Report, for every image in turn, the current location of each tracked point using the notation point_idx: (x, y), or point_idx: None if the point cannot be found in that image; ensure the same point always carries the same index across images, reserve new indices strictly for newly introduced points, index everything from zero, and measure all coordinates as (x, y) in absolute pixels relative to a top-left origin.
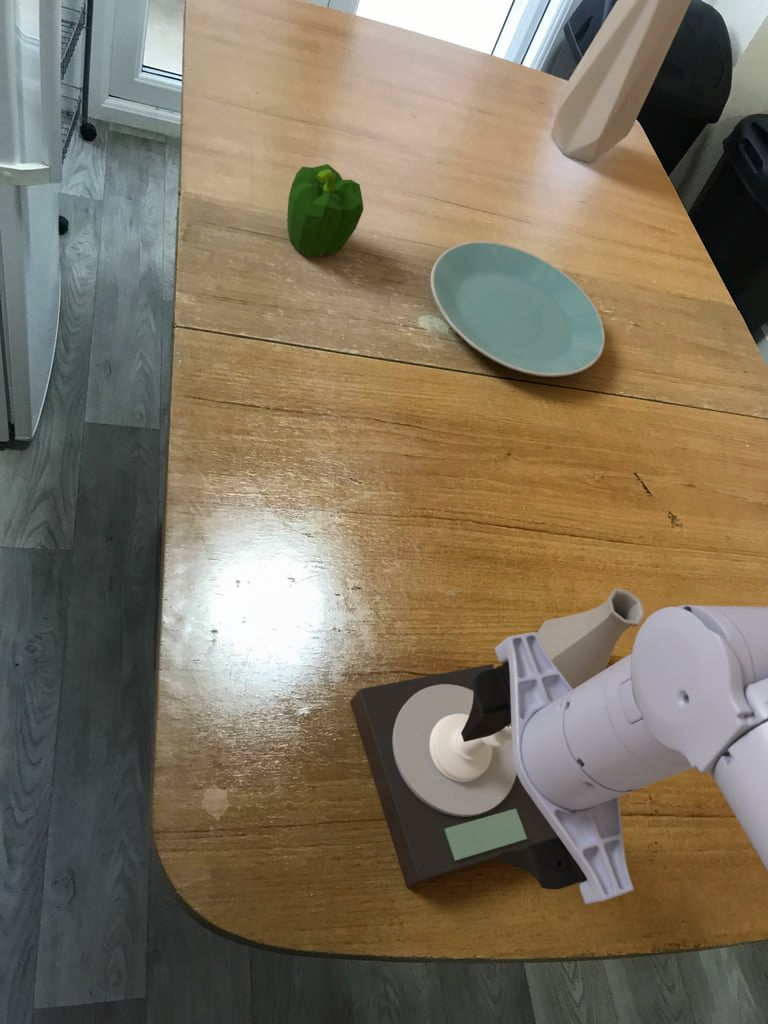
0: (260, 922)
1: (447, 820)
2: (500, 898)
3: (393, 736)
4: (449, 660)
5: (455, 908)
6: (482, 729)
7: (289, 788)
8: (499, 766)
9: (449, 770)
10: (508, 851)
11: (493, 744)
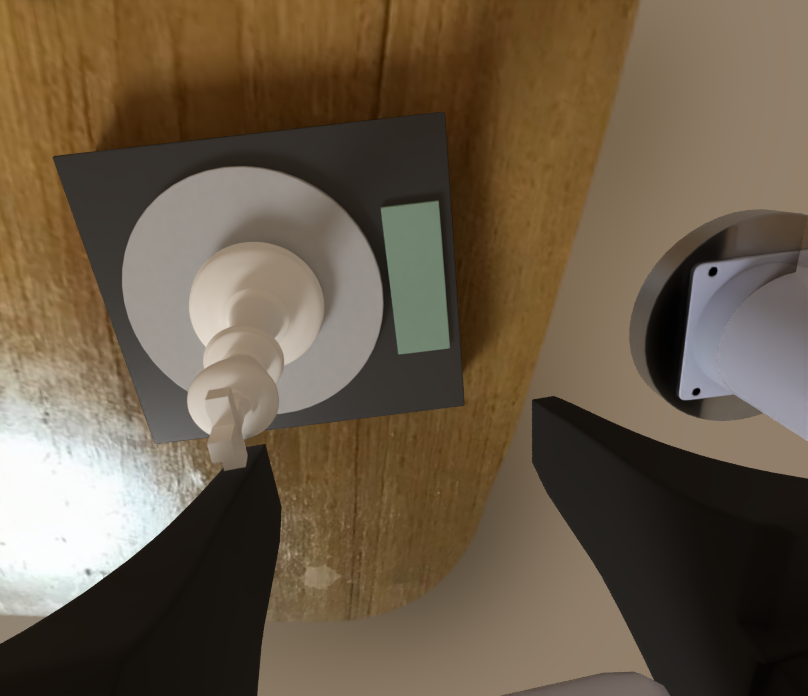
0: (456, 543)
1: (384, 342)
2: (500, 239)
3: None
4: (66, 219)
5: (496, 317)
6: (262, 569)
7: (308, 505)
8: (296, 222)
9: (305, 348)
10: (559, 508)
11: (276, 375)
